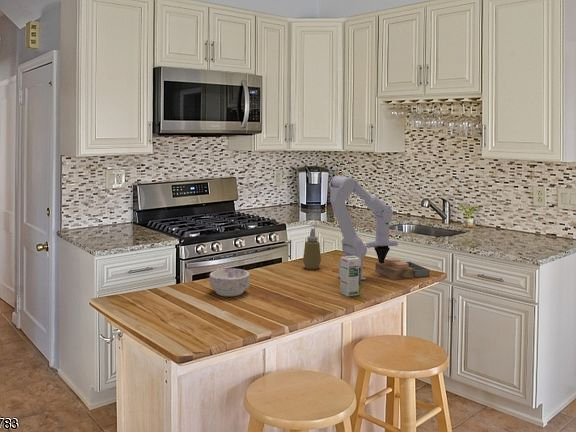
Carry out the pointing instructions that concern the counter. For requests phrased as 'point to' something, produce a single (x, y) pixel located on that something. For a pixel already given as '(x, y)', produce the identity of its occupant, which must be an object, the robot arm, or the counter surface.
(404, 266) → the tile near
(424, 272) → the tray
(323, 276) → the counter surface
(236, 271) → the marbled grey bowl
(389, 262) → the tile far
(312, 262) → the squeeze bottle
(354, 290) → the syrup box
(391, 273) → the brown flat block
